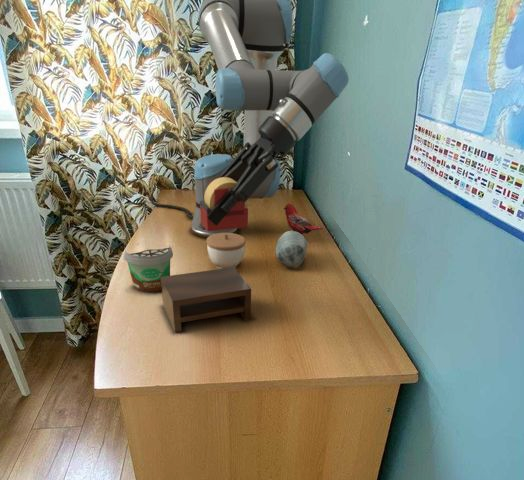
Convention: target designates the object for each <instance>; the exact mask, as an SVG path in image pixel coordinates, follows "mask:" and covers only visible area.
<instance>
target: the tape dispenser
mask: <svg viewBox="0 0 524 480" xmlns="http://www.w3.org/2000/svg"><path fill="white" fill-rule="evenodd" d="M236 183H237V181H235V180H233V179H231V178H228V177H221V178H218V179H215V180H214V181H212V182H211V183H208V187H207V189H206V192H205V196H204V201H205V203H204V202H203V201H200V213H201V224H202V225H203V226H204V227H205V229H206V230H207V231H215V230H225V229H235V228H237V229H243V228H248V227H249V208H248V207H249V199H248V200H247V201H246V202H243V201H240V202H237V203H236V204H235V205H234V206H233V208H232V209H231V210H230V211H229V212H228V213H227V214H226V215H225V217H224V218H223V219H222V220H221V221H220V222H219V223H218V225H217V226H216V225H215V224H214V223H213V222H212V221H211V220H209V219H208V218H207V217H206V216H207V215H208V214H209V213H210V211H211V210H212V209H213V208H214V207H215V206H216V205H217V203H218V202H219V201H220V200H221V199H222V198H223V196H224V195H225V194H226V193H227V192H228V189H231V190H232V189H233V188H234V186H235V185H236ZM228 193H229V192H228ZM229 194H230V193H229ZM230 195H231V194H230ZM245 195H246V194H245Z"/></svg>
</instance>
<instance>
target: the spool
mask: <svg viewBox="0 0 524 480" xmlns="http://www.w3.org/2000/svg"><path fill="white" fill-rule="evenodd" d="M307 249H308V241H307V239H306V237H305V236H304V235H303V234H302V235H301V234H300V233H298V232H296V231H293V230H289V231H285V232H284V233H282V235H280V236H279V237H278V240H277V243H276V247H275V256H276V258H277V260H278V261H279V262H280V263H281V264H282V265H284V267H286V268H290V269H297V268H299V267H300V266H301V264H302V263H303V261H304V260H305V258H306V253H307Z"/></svg>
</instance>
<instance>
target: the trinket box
mask: <svg viewBox="0 0 524 480" xmlns="http://www.w3.org/2000/svg"><path fill="white" fill-rule="evenodd" d="M245 245H246V238H245V237H244V236H242V235H241V234H238V233H236V234H234V233H217V234H213V235H210V236H209V237H208V238H206V250H207V256H208V258H209V260H210V262H211V263H212V264H213V265H214V266H215V267H216V269H224V268H231V267H234V268H235V269H236V268H237V266H239V264H240V263H241V262H242V260H243V258H244V255H245V251H246V250H245V249H246V248H245V247H246V246H245Z"/></svg>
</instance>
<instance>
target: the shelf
mask: <svg viewBox="0 0 524 480" xmlns="http://www.w3.org/2000/svg"><path fill="white" fill-rule="evenodd" d="M161 288H162V291H161V297H162V307H163V309H164V312H165V314H166V316H167V318H168V319H169V322H170V324H171V327H172V329H173V331H174V333H179V332H182V331H183V330H182V323H185V322H191V321H197V320H203V319H208V318H210V319H211V318H216V317H222V316H227V315H232V314H240V316H241V317H242V319H243V320H244V321H247V320H252V319H251V317H252V287H251V286H250V285H249V284H248V283H247V281H246V280H245V279H244V278H243V276H242V275H241V274H240V273H239V271H238V270H237V269H236V267H235V268H234V267H231V268H224V269H219V268H216V269H210V270H209V269H208V270H202V271H195V272H187V273H180V274H173V275H171V274H170V276H164V277H161Z"/></svg>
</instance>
